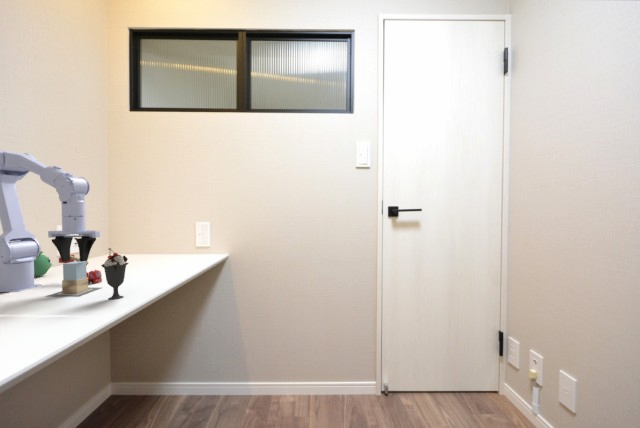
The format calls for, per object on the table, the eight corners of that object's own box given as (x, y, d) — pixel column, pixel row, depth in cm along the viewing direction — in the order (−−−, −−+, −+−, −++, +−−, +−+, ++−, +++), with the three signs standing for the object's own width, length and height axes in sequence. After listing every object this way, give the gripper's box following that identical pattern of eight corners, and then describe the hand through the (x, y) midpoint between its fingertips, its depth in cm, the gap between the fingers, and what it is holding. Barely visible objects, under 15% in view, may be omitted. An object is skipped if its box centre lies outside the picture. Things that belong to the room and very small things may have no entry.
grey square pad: (45, 297, 93) (45, 296, 93) (72, 288, 103) (72, 287, 103) (79, 297, 93) (79, 296, 93) (103, 288, 103) (103, 287, 103)
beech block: (62, 293, 96) (62, 280, 96) (74, 289, 100) (73, 277, 100) (77, 293, 96) (76, 280, 96) (88, 289, 100) (88, 277, 100)
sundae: (100, 304, 87) (99, 249, 87) (103, 297, 93) (102, 246, 93) (128, 300, 90) (127, 247, 90) (130, 294, 96) (129, 245, 96)
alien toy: (56, 275, 123) (55, 249, 123) (31, 279, 116) (30, 252, 116) (46, 273, 126) (45, 248, 125) (21, 277, 119) (20, 250, 118)
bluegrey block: (73, 277, 100) (73, 261, 100) (86, 277, 100) (86, 261, 100) (63, 280, 96) (62, 263, 96) (76, 280, 96) (76, 263, 96)
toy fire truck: (96, 285, 108) (95, 256, 108) (58, 284, 109) (58, 256, 109) (103, 282, 111) (103, 255, 111) (67, 281, 113) (66, 254, 112)
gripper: (38, 217, 94) (39, 263, 94) (87, 217, 93) (88, 263, 94) (58, 216, 101) (59, 259, 101) (104, 216, 100) (105, 259, 101)
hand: (74, 260), depth 98 cm, fingers open, 5 cm apart
